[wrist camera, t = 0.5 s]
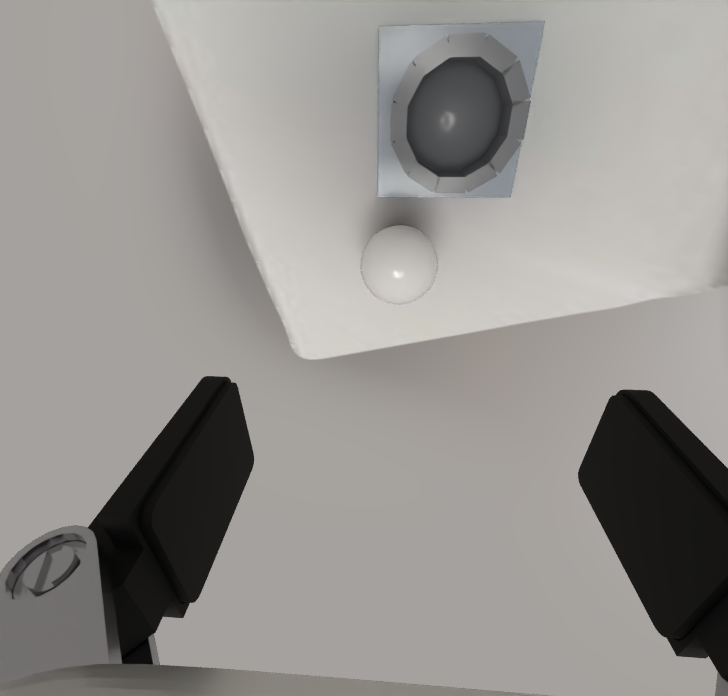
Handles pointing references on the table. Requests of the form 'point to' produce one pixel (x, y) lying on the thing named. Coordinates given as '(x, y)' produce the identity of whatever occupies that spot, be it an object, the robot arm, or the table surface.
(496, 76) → the socket
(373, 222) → the table surface
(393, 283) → the lightbulb
